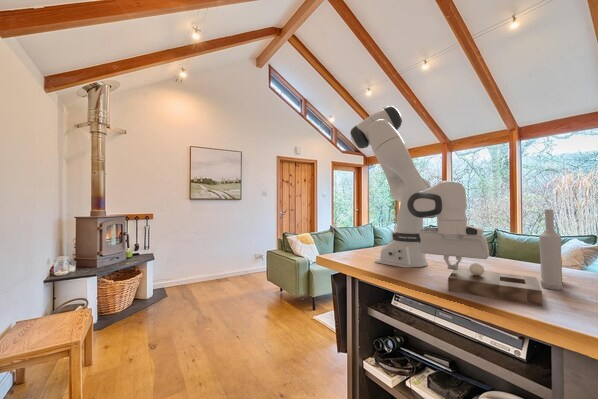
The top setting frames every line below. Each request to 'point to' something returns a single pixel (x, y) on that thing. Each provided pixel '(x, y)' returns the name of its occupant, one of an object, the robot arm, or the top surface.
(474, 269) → the ball
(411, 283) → the top surface
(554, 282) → the bottle
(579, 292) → the top surface
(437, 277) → the top surface
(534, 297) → the board
